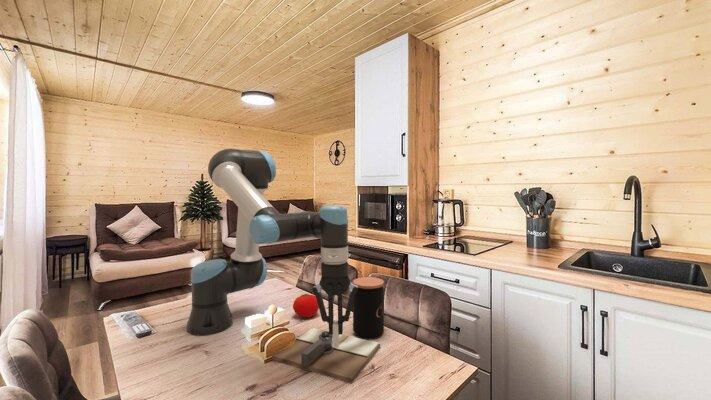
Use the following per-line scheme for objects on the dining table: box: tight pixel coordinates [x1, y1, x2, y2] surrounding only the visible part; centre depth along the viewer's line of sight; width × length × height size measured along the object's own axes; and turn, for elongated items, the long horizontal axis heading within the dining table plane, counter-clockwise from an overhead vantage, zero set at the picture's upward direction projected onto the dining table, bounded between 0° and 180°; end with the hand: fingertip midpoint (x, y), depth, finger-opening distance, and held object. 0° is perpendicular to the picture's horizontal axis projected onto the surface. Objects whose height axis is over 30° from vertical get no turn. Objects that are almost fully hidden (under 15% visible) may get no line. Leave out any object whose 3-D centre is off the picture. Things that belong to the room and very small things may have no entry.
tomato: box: [292, 293, 319, 318], centre depth 125 cm, size 9×10×8 cm
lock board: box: [271, 327, 381, 384], centre depth 96 cm, size 26×20×2 cm
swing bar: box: [301, 330, 332, 366], centre depth 92 cm, size 13×4×4 cm, turn 154°
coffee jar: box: [352, 276, 385, 340], centre depth 110 cm, size 11×11×18 cm
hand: (336, 345), depth 89 cm, fingers closed
